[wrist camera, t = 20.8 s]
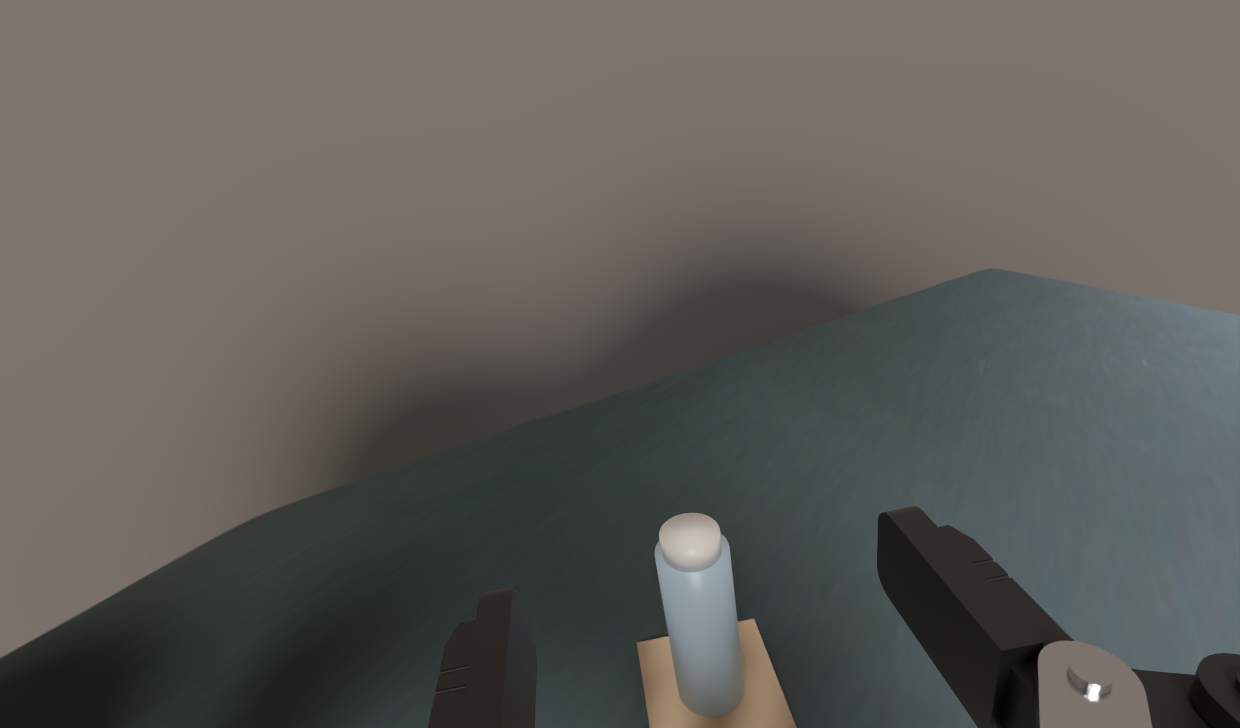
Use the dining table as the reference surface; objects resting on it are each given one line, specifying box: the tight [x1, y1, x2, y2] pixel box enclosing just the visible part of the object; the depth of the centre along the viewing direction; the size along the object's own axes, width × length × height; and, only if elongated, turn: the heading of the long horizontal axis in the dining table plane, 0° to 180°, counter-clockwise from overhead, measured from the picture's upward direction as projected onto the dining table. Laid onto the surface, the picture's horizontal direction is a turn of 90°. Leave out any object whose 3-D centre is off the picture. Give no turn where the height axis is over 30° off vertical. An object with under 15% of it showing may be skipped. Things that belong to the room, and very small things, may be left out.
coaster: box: [637, 619, 797, 728], centre depth 44 cm, size 10×10×1 cm
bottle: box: [655, 513, 744, 717], centre depth 41 cm, size 5×5×14 cm
